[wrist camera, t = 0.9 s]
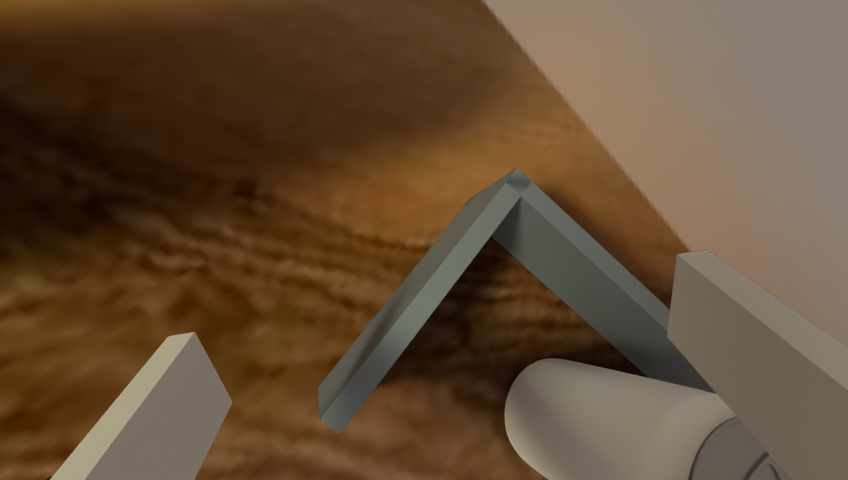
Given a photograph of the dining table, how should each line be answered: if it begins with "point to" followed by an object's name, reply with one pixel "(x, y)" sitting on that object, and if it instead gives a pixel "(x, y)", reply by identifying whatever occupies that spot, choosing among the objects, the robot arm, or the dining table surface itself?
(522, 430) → the can
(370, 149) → the dining table surface
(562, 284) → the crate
